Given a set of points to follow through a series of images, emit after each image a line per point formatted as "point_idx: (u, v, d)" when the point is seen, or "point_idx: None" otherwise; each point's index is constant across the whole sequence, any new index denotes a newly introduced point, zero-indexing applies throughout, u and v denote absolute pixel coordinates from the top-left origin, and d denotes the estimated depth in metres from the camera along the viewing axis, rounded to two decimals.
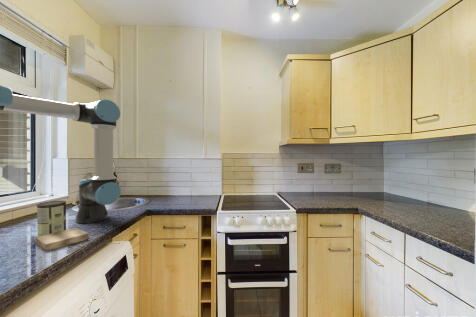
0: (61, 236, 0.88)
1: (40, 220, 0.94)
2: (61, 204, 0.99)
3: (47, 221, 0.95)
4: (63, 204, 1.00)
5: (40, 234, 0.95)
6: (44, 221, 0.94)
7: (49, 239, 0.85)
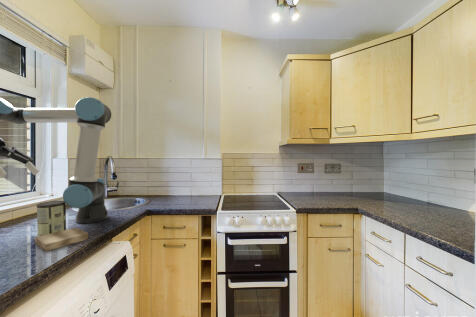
0: (61, 236, 0.88)
1: (40, 220, 0.94)
2: (61, 204, 0.99)
3: (47, 221, 0.95)
4: (63, 204, 1.00)
5: (40, 234, 0.95)
6: (44, 221, 0.94)
7: (49, 239, 0.85)
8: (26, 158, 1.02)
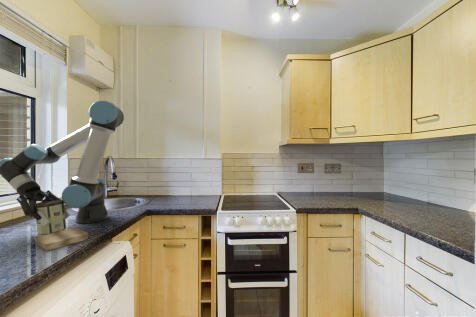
0: (61, 236, 0.88)
1: None
2: (59, 203, 0.98)
3: None
4: (61, 203, 1.00)
5: (40, 234, 0.95)
6: None
7: (49, 239, 0.85)
8: None
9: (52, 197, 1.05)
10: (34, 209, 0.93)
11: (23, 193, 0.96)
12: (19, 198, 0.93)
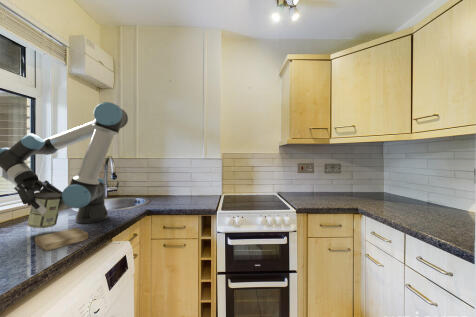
0: (61, 236, 0.88)
1: (33, 210, 0.94)
2: (58, 198, 0.99)
3: None
4: (60, 198, 1.00)
5: (30, 224, 0.94)
6: (38, 212, 0.94)
7: (49, 239, 0.85)
8: (56, 192, 1.05)
9: (50, 187, 1.05)
10: (32, 198, 0.93)
11: (21, 182, 0.96)
12: (17, 187, 0.93)
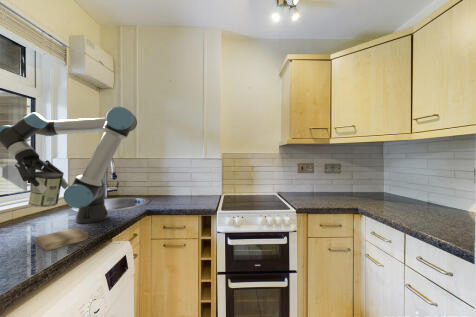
0: (61, 236, 0.88)
1: (34, 189, 0.93)
2: (58, 177, 0.97)
3: None
4: (60, 177, 0.98)
5: (31, 203, 0.93)
6: (38, 191, 0.93)
7: (49, 239, 0.85)
8: (57, 172, 1.04)
9: (51, 167, 1.04)
10: (32, 175, 0.92)
11: (21, 160, 0.95)
12: (17, 164, 0.92)
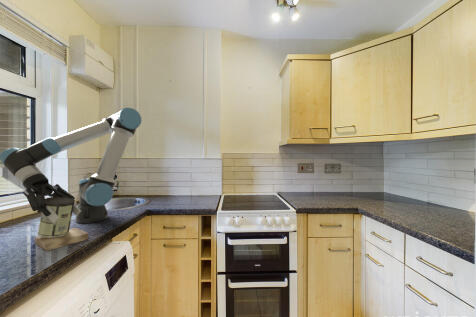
0: (61, 236, 0.88)
1: (44, 218, 0.85)
2: (70, 204, 0.89)
3: None
4: (72, 204, 0.90)
5: (41, 234, 0.85)
6: (49, 221, 0.85)
7: (49, 239, 0.85)
8: None
9: (61, 191, 0.96)
10: (42, 204, 0.84)
11: (30, 186, 0.86)
12: (26, 192, 0.83)
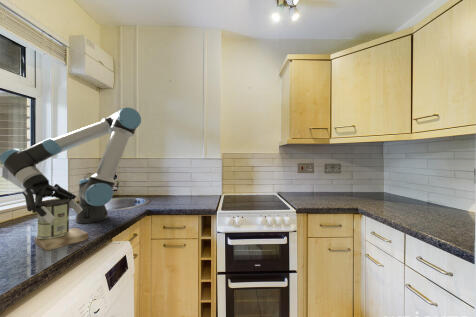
0: (61, 236, 0.88)
1: (41, 220, 0.85)
2: (65, 203, 0.90)
3: None
4: (67, 203, 0.91)
5: (41, 236, 0.85)
6: (46, 221, 0.85)
7: (49, 239, 0.85)
8: (69, 196, 0.97)
9: (62, 191, 0.97)
10: (38, 204, 0.82)
11: (31, 187, 0.87)
12: (25, 192, 0.83)
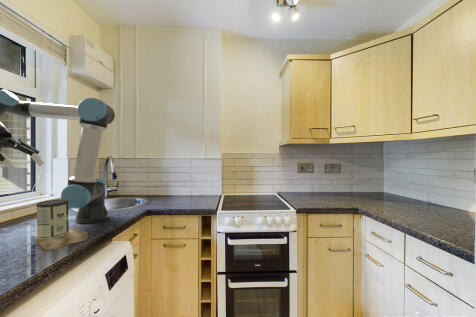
0: (61, 236, 0.88)
1: (40, 221, 0.85)
2: (64, 203, 0.89)
3: (49, 222, 0.86)
4: (66, 203, 0.91)
5: (40, 236, 0.85)
6: (45, 222, 0.85)
7: (49, 239, 0.85)
8: (32, 150, 1.04)
9: (25, 145, 1.04)
10: None
11: None
12: None
